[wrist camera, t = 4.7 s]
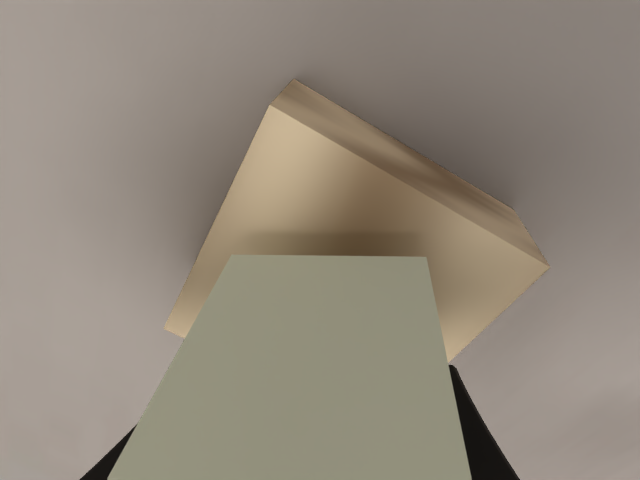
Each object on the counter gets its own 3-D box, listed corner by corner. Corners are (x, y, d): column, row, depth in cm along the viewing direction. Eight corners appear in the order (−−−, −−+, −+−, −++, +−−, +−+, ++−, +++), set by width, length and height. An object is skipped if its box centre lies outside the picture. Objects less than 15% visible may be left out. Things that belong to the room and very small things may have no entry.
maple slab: (511, 206, 15) (550, 267, 12) (377, 352, 20) (378, 427, 16) (295, 76, 14) (269, 104, 11) (202, 266, 18) (163, 328, 15)
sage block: (426, 256, 10) (477, 509, 5) (414, 395, 13) (443, 660, 8) (231, 254, 11) (107, 479, 6) (256, 387, 14) (183, 628, 8)
